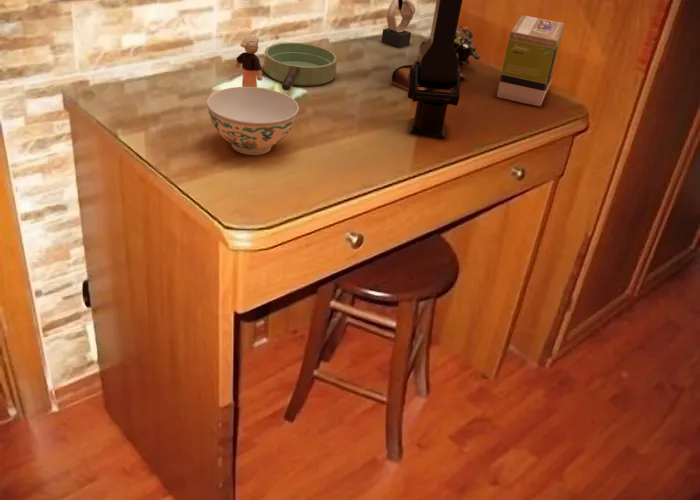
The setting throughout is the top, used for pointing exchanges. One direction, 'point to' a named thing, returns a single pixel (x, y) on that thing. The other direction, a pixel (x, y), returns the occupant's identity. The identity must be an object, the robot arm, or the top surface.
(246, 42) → the grandmother figurine
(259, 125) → the chinaware
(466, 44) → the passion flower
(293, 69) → the pan handle
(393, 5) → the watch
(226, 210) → the top surface
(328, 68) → the pan
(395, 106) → the top surface
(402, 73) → the sunglasses case
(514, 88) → the tea box
